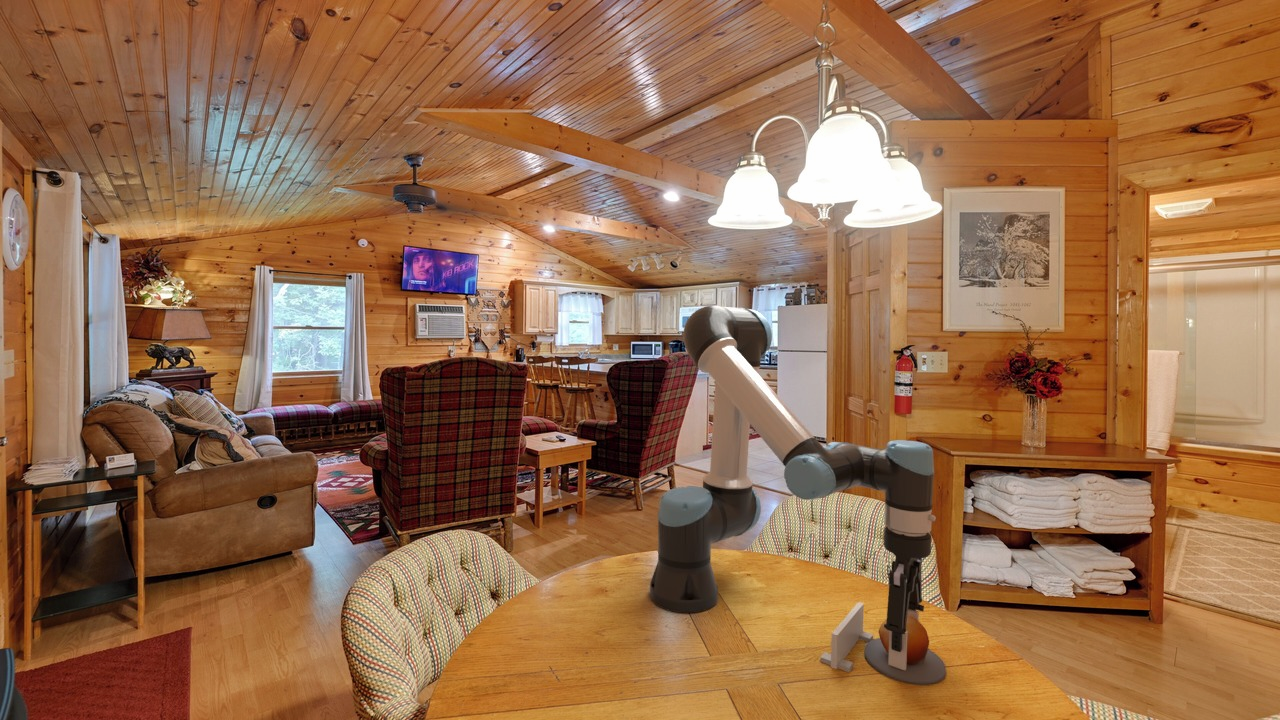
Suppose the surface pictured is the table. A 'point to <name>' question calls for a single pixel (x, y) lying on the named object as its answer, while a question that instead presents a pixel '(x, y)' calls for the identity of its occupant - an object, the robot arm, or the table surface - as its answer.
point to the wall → (846, 639)
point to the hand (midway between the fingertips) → (903, 655)
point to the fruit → (910, 640)
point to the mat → (914, 673)
